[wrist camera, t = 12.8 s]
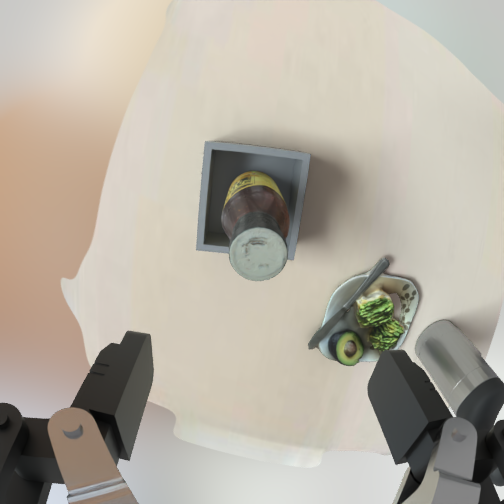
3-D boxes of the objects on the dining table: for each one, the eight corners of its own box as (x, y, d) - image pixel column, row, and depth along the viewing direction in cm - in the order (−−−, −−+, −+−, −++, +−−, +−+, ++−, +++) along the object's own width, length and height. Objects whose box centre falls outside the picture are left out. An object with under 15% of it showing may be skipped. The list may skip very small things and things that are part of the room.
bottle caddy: (301, 151, 38) (310, 154, 33) (287, 244, 43) (293, 260, 37) (210, 141, 37) (205, 141, 32) (202, 235, 42) (196, 250, 36)
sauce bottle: (242, 160, 38) (241, 183, 19) (286, 183, 39) (326, 227, 20) (219, 206, 40) (198, 269, 21) (262, 227, 41) (278, 305, 22)
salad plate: (332, 246, 43) (341, 258, 39) (429, 262, 45) (444, 274, 40) (300, 353, 50) (305, 371, 46) (390, 357, 51) (399, 372, 47)
